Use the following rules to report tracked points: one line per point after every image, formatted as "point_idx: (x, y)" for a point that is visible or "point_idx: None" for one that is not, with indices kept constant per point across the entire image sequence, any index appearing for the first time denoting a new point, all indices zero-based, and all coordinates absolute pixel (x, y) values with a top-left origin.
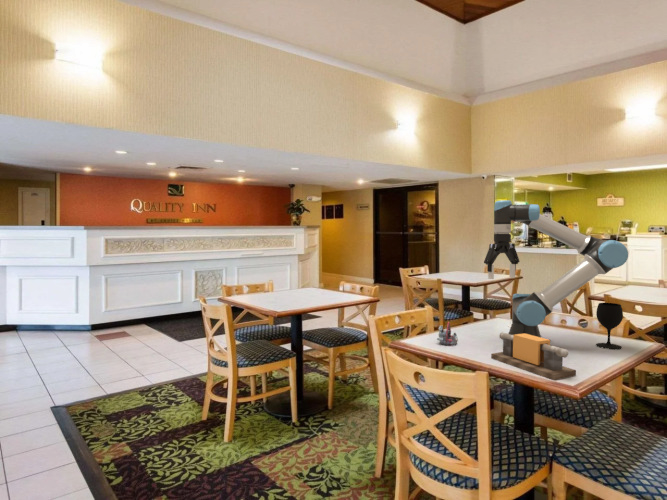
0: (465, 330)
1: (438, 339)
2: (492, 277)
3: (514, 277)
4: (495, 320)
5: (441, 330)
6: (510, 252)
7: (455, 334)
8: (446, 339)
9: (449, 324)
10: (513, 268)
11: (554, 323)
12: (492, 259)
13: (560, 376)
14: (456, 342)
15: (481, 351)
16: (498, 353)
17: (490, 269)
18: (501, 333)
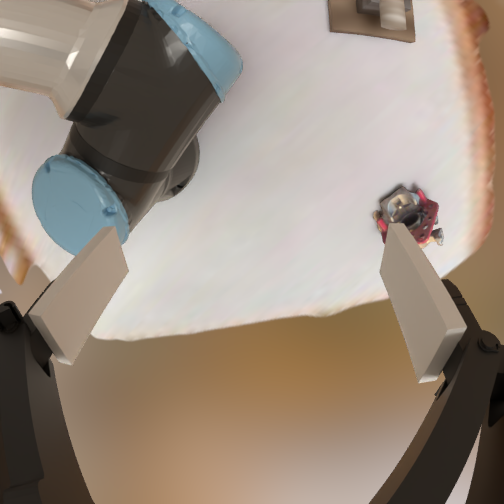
0: (245, 296)
1: (437, 217)
2: (408, 232)
3: (108, 227)
4: (109, 330)
5: (440, 228)
6: (16, 489)
7: (390, 215)
8: (431, 200)
9: (417, 238)
10: (71, 287)
11: (13, 258)
12: (481, 411)
13: None
14: (398, 189)
15: (386, 100)
16: (396, 30)
17: (453, 298)
18: (404, 23)
